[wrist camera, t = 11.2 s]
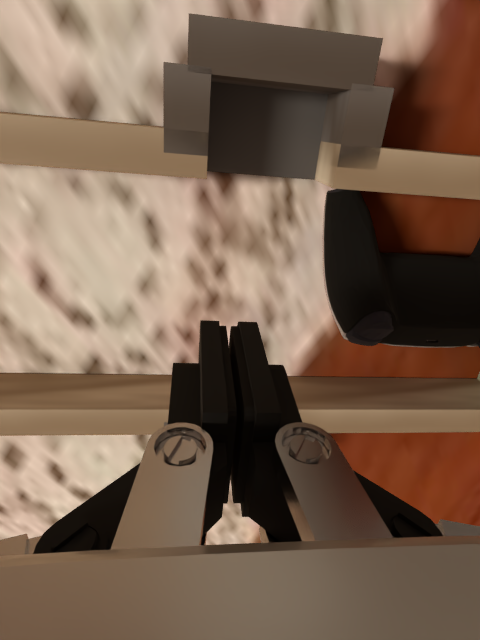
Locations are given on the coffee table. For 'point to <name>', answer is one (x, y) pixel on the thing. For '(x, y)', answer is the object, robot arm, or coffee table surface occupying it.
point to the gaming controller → (395, 285)
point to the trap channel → (191, 161)
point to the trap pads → (264, 131)
